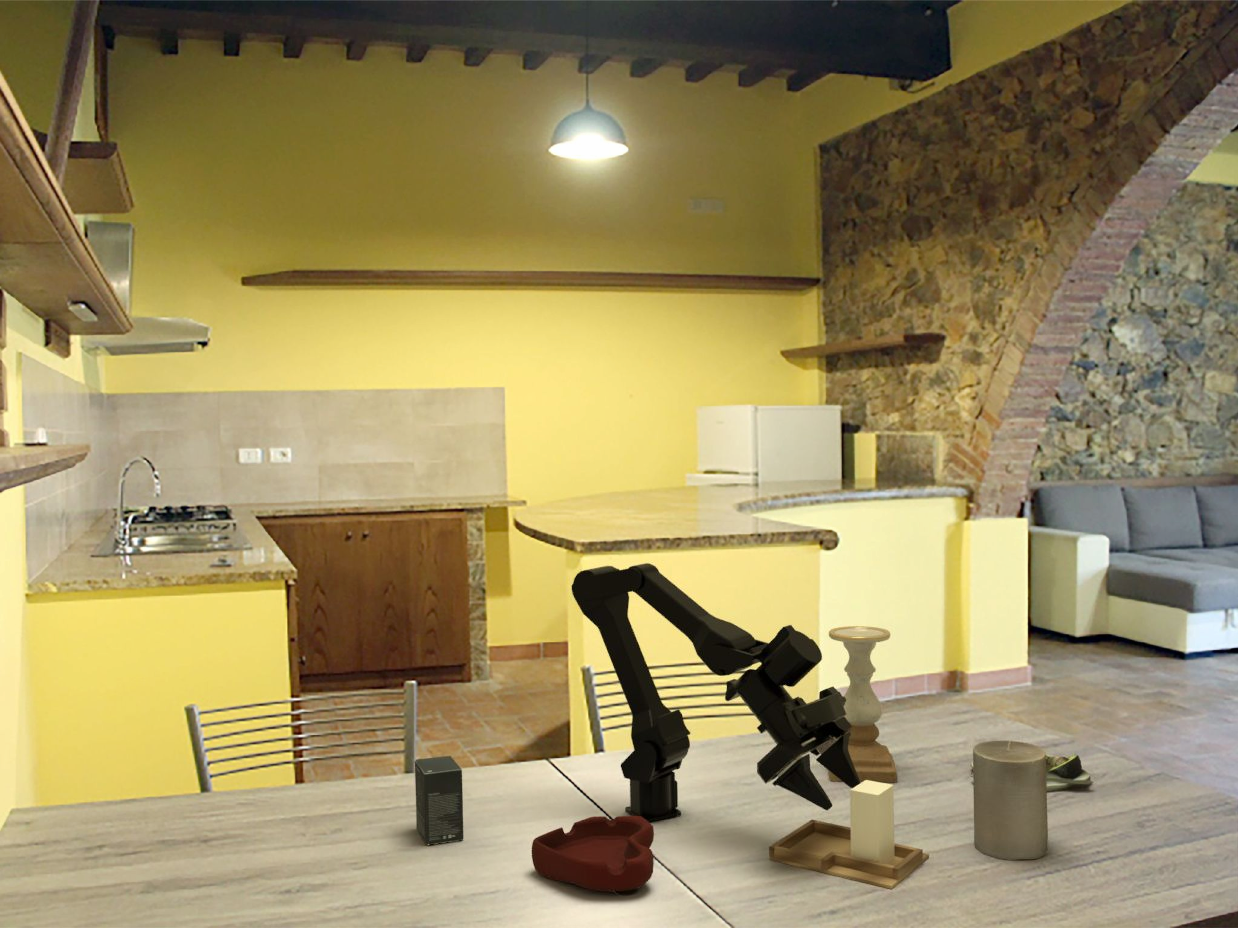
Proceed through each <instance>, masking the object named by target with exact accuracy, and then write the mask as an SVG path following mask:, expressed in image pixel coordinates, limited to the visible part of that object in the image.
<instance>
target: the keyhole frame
mask: <svg viewBox="0 0 1238 928" xmlns="http://www.w3.org/2000/svg"><path fill="white" fill-rule="evenodd" d="M768 853H769V858H768V859H769V860H770V861H773V862H777V863H781V864H787V865H789V866H794V867H799V868H803V869H806V870H809V871H815V872H819V873H823V874H828V875H832V876H836V877H839V878H840V877H841V878H844V879H848V880H851V881H857V882H860V883H864V884H869V885H873V886H876V887H881V888H885V889H889V890H892V889H893V888H895V887H896V886H897V885H898V884H899V883H901V882H902V881H903V880H904V879H905V878H906V877H909V875H910V874H911V873H912V872H914V871H915V870H916V869H917V868H918V867H920V866H921V865H922V864H923V863H924V862H926V861H927V860H928V859H929V858H930V854H928V853H924V851H923V849H922V848H919V847H918V848H917V847H913V846H908V845H903V844H899V843H895V842H894V856H895V858H894V859H893V860H892V861H890V862H889V863H888V864H884V863H880V862H875V861H871V860H867V859H862V858H858V857H853V856H851V826H850V827H849V826H846V825H845V826H844V825H839V824H835V823H830V822H827V821H826V822H825V821H821V820H815V819H810V820H809V821H807V822H806V823H804V824H802V825H801V826H799V827H798V828H796V829H795V830H793V831H792V832H790V833H789V834H787V835H785V836H784V837H782V838H781V839H779V840H777V841H776V842H774V843H772V844H771V845H770V846H768Z"/></svg>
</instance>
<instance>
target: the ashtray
mask: <svg viewBox="0 0 1238 928" xmlns="http://www.w3.org/2000/svg"><path fill="white" fill-rule="evenodd" d="M654 836H655V830H654V825H653V824H652V823H650V822H648V821H647V820H646V819H644V818H643V817H641V816H633V815H621V816H620V815H619V816H618V815H617V816H616V817H615V818H613V819H609V818H607V816H605V815H604V816H603V815H601V816H590V817H587V818H584V819H581V820H579V821H576V822H574V823H573V824H572V827H571V828H570V830H569V831H568V832H565V831H564V828H563V827H562V826H561V827H559V828H555V829H553V830H551V831H547V832H546V833H543V834H541V835H539V836H537V837H535V838H534V839H533V841H532V843H531V859H532V860H531V861H532V865H533V867H534V869H535V871H536V872H537V873H538V874H539V875H541V876H543V877H545V878H547V879H551V880H555V881H559V882H564V883H568V884H572V885H574V886H576V885H577V886H578V887H581V888H585V889H588V890H591V891H592V890H593V891H598V892H599V891H601V892H614V893H616V894H617V895H619V896H631V895H634V894H637V892H638V891H639V890H638V889H639V888H641V887H643V886H644V885H645V884H646V883H647V882H649V881H650V880H651V878H652V876H653V873H654V854H653V851H652V849H651V847H652V844H653V842H654Z"/></svg>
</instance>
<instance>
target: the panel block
mask: <svg viewBox="0 0 1238 928" xmlns="http://www.w3.org/2000/svg"><path fill="white" fill-rule="evenodd" d="M894 787H895V785H894V784H892V783H890V784H889V783H880V782H875V781H869V780H865V781H863V782H861V783H860V784H859V785H857V786H855V787H854V788H850V790H849V797H850V798H849V799H850V800H849V807H850V808H849V809H850V810H849V812H850V814H849V815H850V816H849V817H850V821H849V822H850V828H851V856H853V857H858V858H862V859H867V860H871V861H875V862H880V863H884V864H888V863H889V862H890V861H892V860H893V859H894V858H895V856H894V843H895V801H894V799H895V798H894V797H895V795H894V794H895V792H894V789H895V788H894Z"/></svg>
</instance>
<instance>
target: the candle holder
mask: <svg viewBox="0 0 1238 928" xmlns="http://www.w3.org/2000/svg"><path fill="white" fill-rule="evenodd" d="M828 637H829V639H831V640H834V641H837V642H841V643H842V644H843V647H844V648H845V649H846V650H847V653H848V656H849V657H848V661H847V663H846V665H845V666H844V668H843V671H844V672H846V676H847V677H848V679H849V685H848V687H847V689H846V692H845V693H844V695H843V696H844V697H845V698H846V702H845V705H844V709H845V711H846V715H845V716H844V717H845V718H846V719H847V721H848V722H849V723H850V724H851V726H852V728H851V729H850V730H849V731H848V732H851V736H850V737H849V743H848V751H849V754H850V757H851V760H852V762H853V765H854V767H855V770H856V772H857V775H858V777H859V780H860V782H861V783H862V782H863V781H865V780H869V781H875V782H880V783H886V784H889V783H890V784H892V783H897V782H898V772H897V767H896V763H895V759H894V758H893V755H892V754H891V753H890V751H889V750H890V749H889V748H888V746H887V745H885V744H881V743H880V742H878V741H876V740H877V739H878V738H879V735H880V730H879V727H877V725H876V724H875V723H877V722H879V721H880V719H881V718H882V716H883V712H884V711H883V705H882V703H881V701H880V700H879V698H878V696H877V695H876V694H875V692H874V690H873V688H872V685H871V680H872V677H873V676H874V673H875V672H876V671H877V669H876V667H875V666H874V665H873V663H872V660H871V654H872V651H873V650H875V647H876V645H877V643H882V642H885V641H888V640H889V639H890V638H891V631H889V630H888V629H885V628H882V627H881V628H880V627H874V626H862V625H861V626H858V625H856V626H855V625H854V626H851V625H850V626H841V627H834V628H831V629H830V630H829V631H828ZM848 732H847V733H848ZM827 771H828V772H827V773H828V779H829V781H830V782H839V783H840V782H842V783H844V782H843V781H841V780H840V779H839V778H838V777H836V776H835V775H834V774H833V773H831V772H830V771H829V770H828V769H827Z"/></svg>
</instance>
